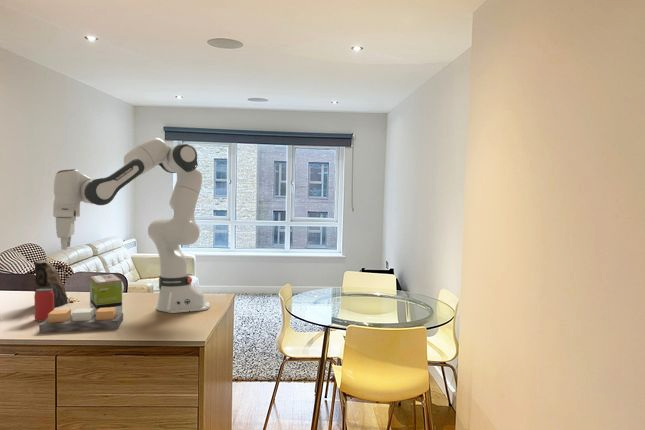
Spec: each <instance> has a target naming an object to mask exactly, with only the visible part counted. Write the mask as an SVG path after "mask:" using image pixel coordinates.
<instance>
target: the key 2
mask: <svg viewBox="0 0 645 430" xmlns="http://www.w3.org/2000/svg"><path fill="white" fill-rule="evenodd" d="M115 317H116V307H109V308H99V309H98V310H97V311H96V320H109V319H115Z"/></svg>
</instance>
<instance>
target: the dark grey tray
mask: <svg viewBox="0 0 645 430" xmlns="http://www.w3.org/2000/svg"><path fill="white" fill-rule="evenodd" d="M123 322H124V312H122V313H116V317H115V319H109V320H96V314H94V317H93V319H92V320H88V321H72V314H71V318H70V319H69V320H68V321H67V322H48V318H47V319H46V320H44V321H41V323H40V324H39V325H38V326H39V327H38V328H39V329H38V330H39V332H38V333H39V334H47V333H64V332H82V331H83V332H84V331H86V332H87V331H102V330H103V331H105V330H119V327H120V326H121V325H122V323H123Z"/></svg>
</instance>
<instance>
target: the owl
mask: <svg viewBox="0 0 645 430" xmlns="http://www.w3.org/2000/svg"><path fill="white" fill-rule="evenodd" d="M33 265H34V269H33V270H34V273H35V276H34V284H35V285H34V287H33V291H34V293H35V292H36V290H37V289H40V288H52V290H53V293H54V309H56V308H59V307H61V306H62V307H63V306H65V305H67V304H69V302H68V300H69V299H68V296H67V292H66V288H65V286H64V283H63V281H62V278H61V276H60V274H59V272H58V270H57V268H56V267H55V266H54V265H53V264H52V263H51V262H49V261H46V260H42V259H39V260H35V261H34V263H33Z"/></svg>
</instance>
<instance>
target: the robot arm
mask: <svg viewBox="0 0 645 430" xmlns="http://www.w3.org/2000/svg"><path fill="white" fill-rule="evenodd" d="M198 165H199V163H198V153H197V150H196V148H195V147H194V146H193V145H191V144H189V143H179V144H177V145H175V146H172V147H170V146H168V145H167V143H166V142H165V141H164V140H163V139H161V138H159V137H154V138H151V139H149V140H146V141H144V142H142V143H140V144H138V145H136V146H134V147H133V148H132V149H130V150H129V151H128V152H127V153H126V154H124V156H123V165H122V166H121V167H120V168H119V169H118V170H116V171H114V172H113V173H112V174H110V175H108V176H107V177H103V178H102V177H101V178H94V179H93V178H92V177H89V176H87V175H86V174H84V173H82V172H81V171H79V169H75V168H72V169H71V168H70V169H61V170H59V171H57V172H56V173H55V176H54V179H53V180H54V181H53V182H54V183H53V195H54V200H53V205H52V206H53V207H52V209H53V211H52V213H53V214H52V216H53V217H54V218H55V228H56V229H55V230H56V236H57V238H58V239H60V244H61V247H60V248H61V250H68V248H69V247H71V241H72V236H74V234H75V222H76V220H77V217H80V215H81V214H80V213H81V211H80V210H81V203H85V204H90V205H96V206H105V205H108V204H110V203H111V202H112V201H113V200H114V199H115V197H116V195H117V194H118V192H119V191H121V190H122V189H123V188H124V187H125V186H127V185H128V184H129V183H130V182H132V181H133V180H135V179H136V178H138V177H140V176H141V175H143V174H146V173H147V172H149V171H151V170H152V169H154V168H155V167H157V166H160V167H161V169H162V170H163V171H165V172H167V173H169V174H176V182H175V185H174V187H173V190H172V193H171V197H170V200H169V206H170V208H171V209H172V211H173V214H172V218H159V219H156V220H155V219H154V220H153V221H151V222H150V223H149V225H148V227H147V228H148V229H147V235H148V237H149V238H150V239H151V241H152V242H153V244H154V245H155V247H156V250H157V254H158V256H159V274H160V275H159V277H158V289H159V293H158V300H157V305H156V308H155V309H156V310H157V311H160V312H163V313H164V312H165V313H168V314H175V313H176V314H177V313H187V312H189V311H190V312H197V311H206V310H208V309H210V306H211V305H210V302H209V301H206V300H205V295H204V292H203V291H202V290H201V289H200V288H198V287H196V286H195V285H194V284H193V283H192V282H193V278H192V277H191V275H187V274H188V273H187V271H188V270H187V269H188V267H187V266H188V265H187V263H188V261H187V257H186V255H185V254H184V253H183V252H182V250H181V248H180V246H189V245H194V244H195V243H197V241H198V239H199V238H200V233H201V232H200V227H199V225H198V224H197V222H196V219H195V212H196V211H195V210H196V207H197V203H198V200H199V196H200V193H201V188H202V182H203V174H202V172H201V171H200V170H199V169H198Z"/></svg>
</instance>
